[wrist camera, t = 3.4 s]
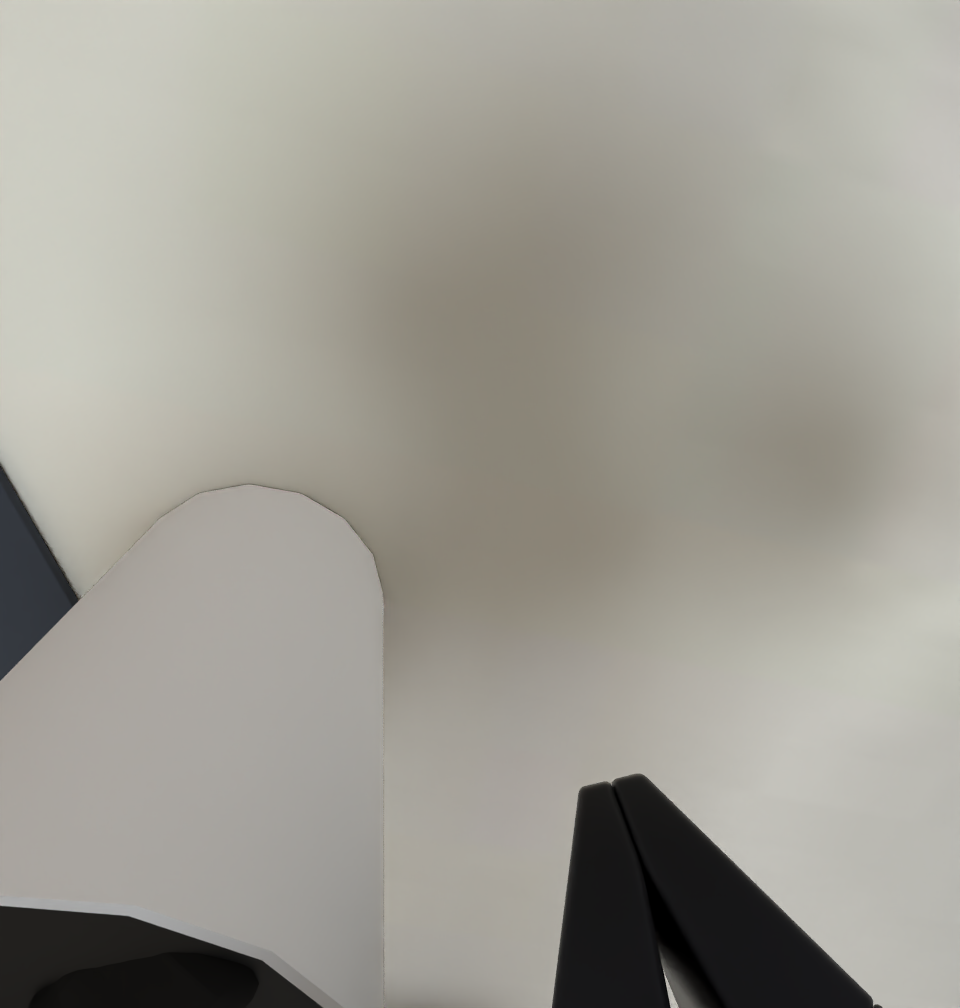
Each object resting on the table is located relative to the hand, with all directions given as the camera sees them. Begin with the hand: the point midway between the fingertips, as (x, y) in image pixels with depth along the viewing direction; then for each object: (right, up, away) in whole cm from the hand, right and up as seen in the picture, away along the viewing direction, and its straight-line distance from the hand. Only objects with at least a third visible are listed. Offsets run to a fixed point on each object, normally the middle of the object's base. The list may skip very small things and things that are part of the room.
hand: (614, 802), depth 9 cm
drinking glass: (-7, +2, +7) cm, 10 cm away
